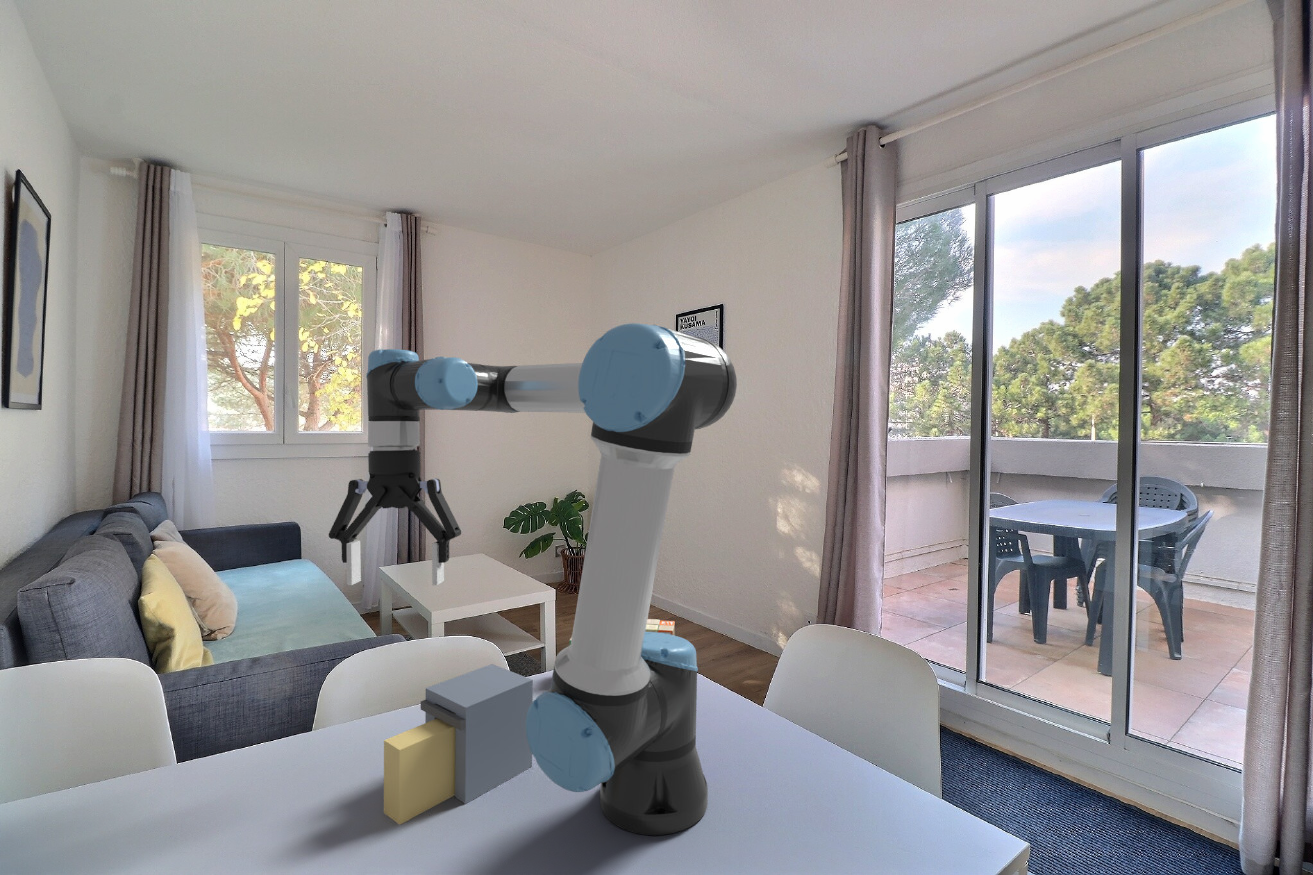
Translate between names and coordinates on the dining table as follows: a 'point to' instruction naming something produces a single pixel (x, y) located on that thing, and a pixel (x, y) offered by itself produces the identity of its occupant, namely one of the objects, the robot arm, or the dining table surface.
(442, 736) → the upright yellow slab
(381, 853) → the dining table surface
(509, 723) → the dispenser
